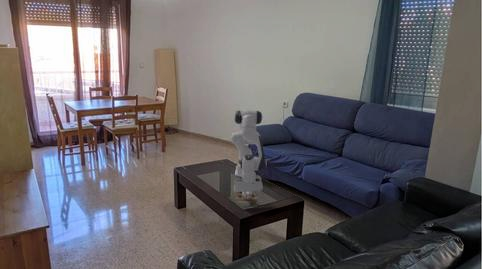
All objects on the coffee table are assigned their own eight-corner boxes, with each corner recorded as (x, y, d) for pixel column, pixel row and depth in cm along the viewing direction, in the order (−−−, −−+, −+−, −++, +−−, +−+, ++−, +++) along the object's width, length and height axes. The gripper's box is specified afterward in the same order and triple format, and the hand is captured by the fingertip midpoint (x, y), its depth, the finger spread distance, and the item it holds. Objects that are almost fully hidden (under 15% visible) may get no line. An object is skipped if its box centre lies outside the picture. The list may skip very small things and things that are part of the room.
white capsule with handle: (241, 196, 249) (241, 187, 248) (249, 195, 250) (249, 186, 249) (244, 202, 239) (244, 192, 238) (252, 201, 240) (252, 192, 239)
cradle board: (232, 192, 258) (232, 188, 258) (253, 191, 261) (253, 187, 261) (237, 204, 237) (237, 200, 237) (259, 203, 240) (259, 199, 239)
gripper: (234, 180, 231) (234, 199, 234) (263, 178, 234) (263, 197, 237) (233, 177, 237) (233, 195, 240) (261, 175, 240) (261, 194, 243)
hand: (248, 196), depth 239 cm, fingers closed on white capsule with handle
